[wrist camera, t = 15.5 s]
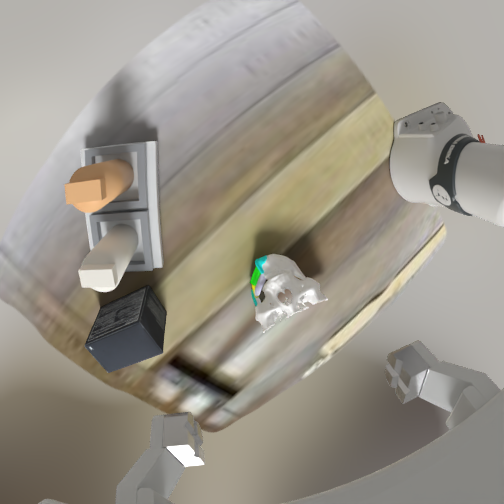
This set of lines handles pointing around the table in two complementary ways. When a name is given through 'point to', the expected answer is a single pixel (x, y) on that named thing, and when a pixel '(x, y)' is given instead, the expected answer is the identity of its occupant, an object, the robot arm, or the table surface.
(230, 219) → the table surface
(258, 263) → the partial skull model
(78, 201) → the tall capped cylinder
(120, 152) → the grey base with column
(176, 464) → the robot arm
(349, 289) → the table surface
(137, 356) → the small box
